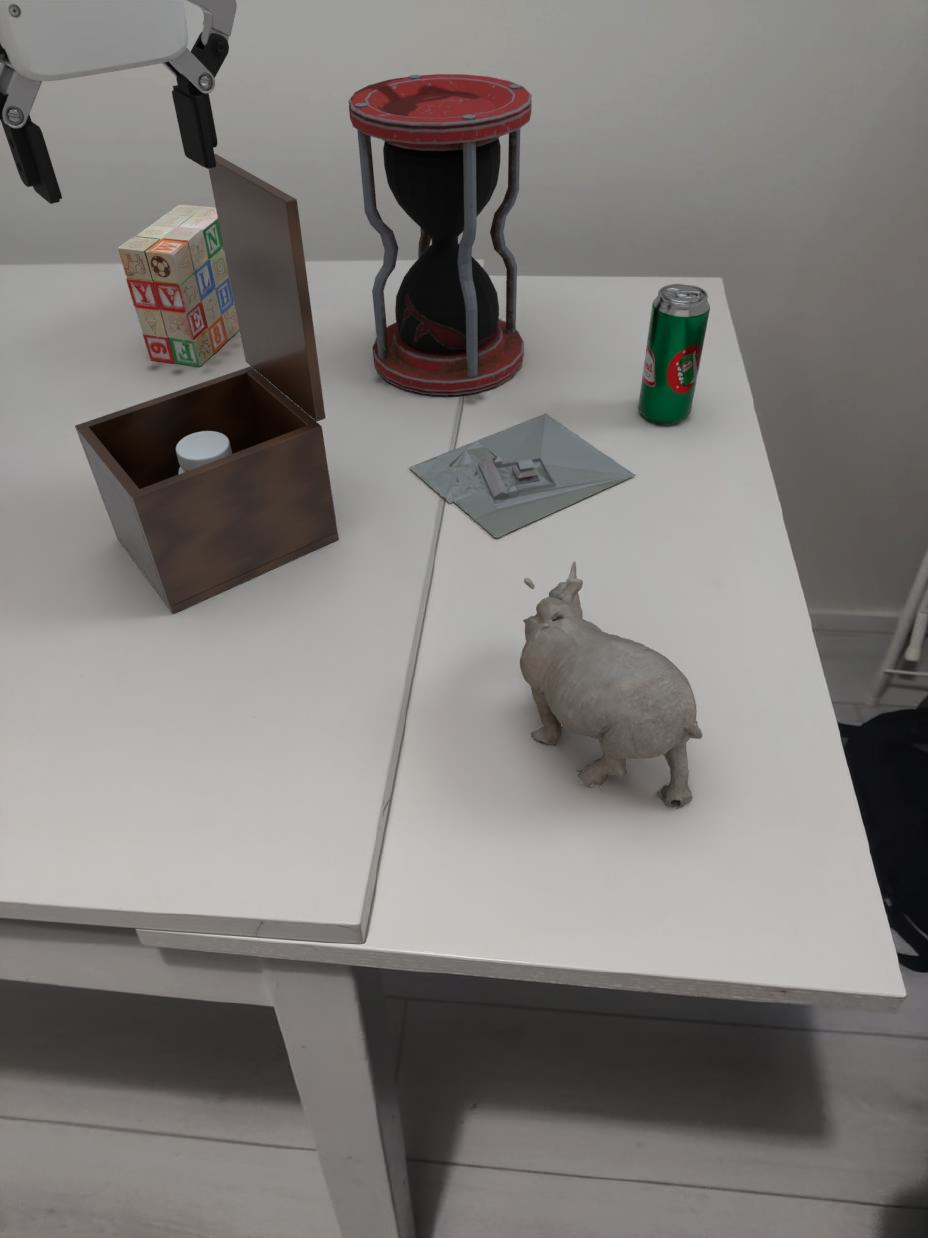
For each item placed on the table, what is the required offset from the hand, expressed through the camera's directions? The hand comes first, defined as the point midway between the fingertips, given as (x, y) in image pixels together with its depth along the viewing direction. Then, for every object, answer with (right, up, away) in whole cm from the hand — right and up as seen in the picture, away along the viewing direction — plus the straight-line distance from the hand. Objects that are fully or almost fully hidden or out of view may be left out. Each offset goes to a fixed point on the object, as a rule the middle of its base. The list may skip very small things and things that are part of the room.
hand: (127, 178), depth 53 cm
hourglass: (+19, +1, +41) cm, 45 cm away
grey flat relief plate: (+23, -17, +23) cm, 36 cm away
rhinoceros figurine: (+29, -34, +5) cm, 44 cm away
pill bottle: (+1, -20, +19) cm, 27 cm away
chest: (+1, -20, +20) cm, 28 cm away
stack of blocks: (-8, +8, +49) cm, 50 cm away
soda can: (+40, -7, +32) cm, 52 cm away
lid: (+6, -3, +9) cm, 12 cm away
